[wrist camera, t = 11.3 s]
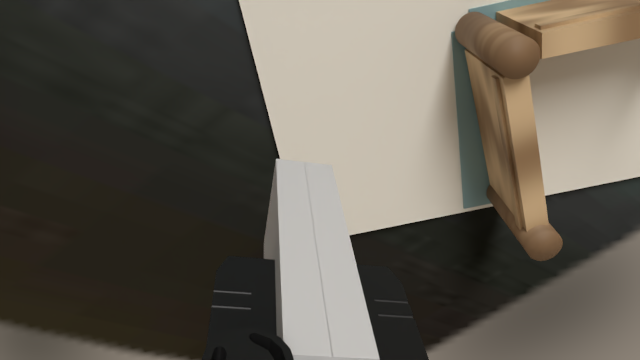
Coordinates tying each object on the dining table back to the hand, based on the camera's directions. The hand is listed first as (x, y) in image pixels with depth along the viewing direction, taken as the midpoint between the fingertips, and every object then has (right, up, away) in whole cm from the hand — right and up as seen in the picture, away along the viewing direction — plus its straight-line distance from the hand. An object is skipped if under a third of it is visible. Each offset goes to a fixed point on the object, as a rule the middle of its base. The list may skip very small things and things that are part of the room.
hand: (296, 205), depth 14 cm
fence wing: (+12, +5, +21) cm, 25 cm away
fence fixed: (+18, +12, +18) cm, 28 cm away
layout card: (+11, +7, +21) cm, 25 cm away
